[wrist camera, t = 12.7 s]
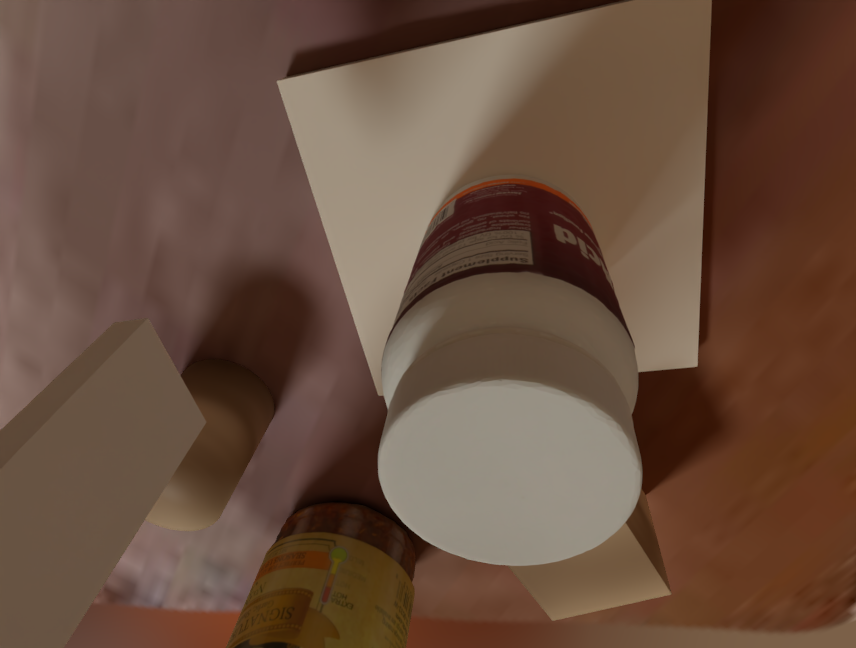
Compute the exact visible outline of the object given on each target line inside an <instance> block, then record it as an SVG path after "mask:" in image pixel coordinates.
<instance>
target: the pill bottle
mask: <svg viewBox="0 0 856 648" xmlns="http://www.w3.org/2000/svg"><path fill="white" fill-rule="evenodd" d="M381 377H382V387H383V394H384V398H385V402H386V405H387V408H388V413H387V418H386V421H385V425H384V429H383V433H382V437H381V441H380V445H379V451H378V476H379V480H380V484H381V487H382V490H383V493H384V495H385V497H386V499H387V501H388V503H389V505H390V506H391V508H392V509H393V511H394V512H395V513H396V515H397V516H398V517H399V518H400V519H401V521H402V522H403V523H404V524H405V525H406V526H407V527H409V528H410V529H411V530H412V531H413V532H414V533H416V534H417V535H418V536H420V537H421V538H422V539H423V540H425V541H427V542H429V543H430V544H432V545H434V546H436V547H438V548H440V549H442V550H444V551H447V552H449V553H451V554H454V555H457V556H460V557H463V558H466V559H468V560H474V561H479V562H484V563H489V564H497V565H510V566H528V565H540V564H547V563H552V562H558V561H561V560H565V559H568V558H571V557H573V556H576V555H579V554H582V553H584V552H586V551H588V550H591V549H593V548H595V547H597V546H598V545H600V544H602V543H603V542H604V541H606V540H607V539H608V538H609V537H611V536H612V535H613V534H615V533H616V532H617V531H618V530H619V529H620V528H621V527H622V526H623V524H624V523H625V522H626V521H627V520H628V518H629V517H630V515H631V514H632V512H633V510H634V508H635V507H636V504H637V502H638V499H639V496H640V492H641V487H642V475H643V472H642V461H641V455H640V451H639V447H638V443H637V439H636V435H635V431H634V425H633V420H632V413H633V410H634V407H635V403H636V399H637V393H638V366H637V360H636V355H635V345H634V343H633V340H632V337H631V335H630V332H629V330H628V328H627V325H626V322H625V319H624V317H623V314H622V311H621V309H620V306H619V302H618V299H617V297H616V295H615V291H614V287H613V282H612V280H611V278H610V275H609V272H608V270H607V267H606V264H605V261H604V258H603V255H602V251H601V249H600V247H599V244H598V242H597V239H596V236H595V233H594V230H593V228H592V225H591V223H590V221H589V219H588V217H587V216H586V214H585V213H584V211H583V210H582V208H581V207H580V205H579V204H578V203H577V202H576V201H575V200H574V199H573V198H572V197H571V196H570V195H569V194H568V193H566V192H565V191H564V190H563V189H561V188H559V187H557V186H556V185H554V184H552V183H549V182H547V181H545V180H542V179H539V178H535V177H531V176H526V175H513V174H512V175H498V176H492V177H487V178H484V179H480V180H477V181H475V182H472V183H470V184H468V185H465V186H463V187H462V188H460V189H459V190H458V191H456V192H455V193H454V194H452V195H451V196H450V197H449V198H448V199H447V200H446V201H445V202H444V203H443V204H442V205H441V206H440V207H439V209H438V210H437V211H436V213H435V214H434V216H433V217H432V219H431V221H430V223H429V225H428V227H427V229H426V232H425V235H424V237H423V240H422V243H421V245H420V248H419V251H418V254H417V257H416V260H415V263H414V266H413V269H412V271H411V275H410V278H409V281H408V283H407V286H406V288H405V291H404V295H403V298H402V300H401V303H400V307H399V310H398V312H397V315H396V318H395V321H394V324H393V327H392V330H391V331H390V333H389V336H388V339H387V342H386V345H385V348H384V353H383V358H382V364H381Z"/></svg>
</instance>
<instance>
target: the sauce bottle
mask: <svg viewBox="0 0 856 648" xmlns="http://www.w3.org/2000/svg"><path fill="white" fill-rule="evenodd" d="M414 571H415V550H414V546H413V543H412V541H411V540H410V538H409V537H408V535H407V533H406V531H405V530H404V529H402V528H401V527H400V526H398V525H397V524H396V523H395V521H393V520H390V519H389V518H387V517H385V516H383V515H382V514H381V513H379V512H376V511H374V510H373V509H371V508H368V507H365V506H363V505H358V504H349V503H334V502H331V503H323V504H315V505H311V506H308V507H306V508H304V509H300V510H298V511H297V512H296V513H295V514H293V515H292V516H290V517H289V518H288V519H287V520H286V523H285V524H284V525H283V527H282V529H281V531H280V533H279V535H278V536H277V540H276V542H275V543H274V544H273V545H272V546H271V548H270V549H269V550H268V552H267V553H266V555H265V558H264V560H263V563H262V565H261V567H260V569H259V572H258V574H257V576H256V579H255V581H254V583H253V586H252V588H251V590H250V593H249V595H248V597H247V600H246V602H245V604H244V607H243V609H242V612H241V614H240V616H239V619H238V621H237V623H236V626H235V628H234V630H233V633H232V635H231V637H230V640H229V642H228V644H227V647H226V648H406V643H407V638H408V632H409V625H410V619H411V613H412V607H413V601H414V592H415V591H414V587H413V584H412V581H413V578H414Z"/></svg>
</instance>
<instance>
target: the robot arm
mask: <svg viewBox="0 0 856 648" xmlns="http://www.w3.org/2000/svg"><path fill="white" fill-rule="evenodd" d="M205 424H206V420H205V418H204V417H203V415H202V413H201V411H200V410H199V408H198V406H197V404H196V403H195V401H194V399H193V397H192V395H191V394H190V392H189V390H188V388H187V387H186V385H185V383H184V381H183V379H182V378H181V376H180V374H179V372H178V371H177V369H176V367H175V365H174V364H173V362H172V360H171V358H170V356H169V355H168V353H167V351H166V349H165V348H164V346H163V344H162V342H161V340H160V339H159V337H158V335H157V333H156V332H155V330H154V328H153V326H152V325H151V323H150V321H149V319H148V318H144V319H137V320H130V321H123V322H115V323H113V324H112V325H111V326H110V327H109V328H108V329H107V330H106V331H105V332H104V333H103V334H102V335H101V336H100V337H99V338H98V339H97V340H95V341H94V342H93V343H92V344H91V345H90V346H89V347H88V348H87V349H86V350H85V351H84V352H83V353H82V354H81V355H80V356H79V357H78V358H76V359H75V360H74V361H73V362H72V363H71V364H70V365H69V366H68V367H67V368H66V369H65V370H64V371H63V372H62V373H61V374H60V375H59V376H57V377H56V378H55V379H54V380H53V381H52V382H51V383H50V384H49V385H48V386H47V387H46V388H45V389H44V390H43V391H42V392H41V393H40V394H38V395H37V396H36V397H35V398H34V399H33V400H32V401H31V402H30V403H29V404H28V405H27V406H26V407H25V408H24V409H23V410H22V411H21V412H19V413H18V414H17V415H16V416H15V417H14V418H13V419H12V420H11V421H10V422H9V423H8V424H7V425H6V426H5V427H4V428H3V429H2V430H0V648H64V646H65V645H66V643H67V642H68V640H69V639H70V637H71V636H72V634H73V632H74V631H75V629H76V628H77V626H78V624H79V623H80V621H81V620H82V618H83V617H84V615H85V613H86V612H87V610H88V609H89V607H90V605H91V604H92V602H93V601H94V599H95V598H96V596H97V594H98V593H99V591H100V590H101V588H102V587H103V585H104V583H105V582H106V580H107V579H108V577H109V575H110V574H111V572H112V571H113V569H114V568H115V566H116V564H117V563H118V561H119V560H120V558H121V556H122V555H123V553H124V552H125V550H126V549H127V547H128V545H129V544H130V542H131V541H132V539H133V538H134V536H135V534H136V533H137V531H138V530H139V528H140V526H141V525H142V523H143V522H144V520H145V519H146V517H147V515H148V514H149V512H150V511H151V509H152V507H153V506H154V504H155V503H156V501H157V500H158V498H159V496H160V495H161V493H162V492H163V490H164V489H165V487H166V485H167V484H168V482H169V481H170V479H171V477H172V476H173V474H174V473H175V471H176V470H177V468H178V466H179V465H180V463H181V462H182V460H183V458H184V457H185V455H186V454H187V452H188V451H189V449H190V447H191V446H192V444H193V443H194V441H195V440H196V438H197V436H198V435H199V433H200V432H201V430H202V428H203V427H204V425H205Z"/></svg>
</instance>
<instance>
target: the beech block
mask: <svg viewBox="0 0 856 648" xmlns="http://www.w3.org/2000/svg"><path fill="white" fill-rule="evenodd" d="M507 566H508V567H509V568H510V569H511V570H512V572H513V573H514V574H515V575H516V577H517V578H518V579H519V580H520V581H521V583H522V584H523V585H524V586H525V588H526V589H527V590H528V591H529V592H530V594H531V595H532V596H533V597H534V599H535V600H536V601H537V602H538V603H539V605H540V606H541V607H542V608H543V610H544V611H545V612H546V613H547V614H548V616H549V617H550V618H551V619H552V621H554V620H558V619H563V618H567V617H572V616H576V615H581V614H585V613H590V612H594V611H599V610H603V609H608V608H612V607H617V606H621V605H626V604H630V603H635V602H639V601H644V600H648V599H653V598H657V597H662V596H666V595H671V594H672V593H671V590H670V586H669V582H668V578H667V575H666V571H665V567H664V563H663V559H662V556H661V552H660V548H659V544H658V540H657V537H656V533H655V529H654V525H653V522H652V518H651V514H650V510H649V506H648V503H647V499H646V495H645V493H644V492H643V490H642V488H641V492H640V496H639V499H638V502H637V504H636V507H635V508H634V510H633V512H632V514H631V515H630V517H629V518H628V520H627V521H626V522H625V523H624V524H623V526H622V527H621V528H620V529H619V530H618V531H617V532H616V533H615V534H613V535H612V536H611V537H609V538H608V539H607V540H606V541H604V542H603V543H602V544H600V545H598V546H597V547H595V548H593V549H591V550H588V551H586V552H584V553H582V554H579V555H576V556H573V557H571V558H568V559H565V560H561V561H558V562H552V563H547V564H540V565H528V566H510V565H507Z"/></svg>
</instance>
